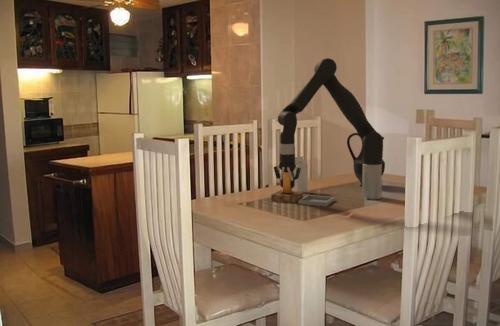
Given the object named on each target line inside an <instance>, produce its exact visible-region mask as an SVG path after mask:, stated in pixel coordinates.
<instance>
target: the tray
mask: <svg viewBox="0 0 500 326" xmlns="http://www.w3.org/2000/svg"><path fill="white" fill-rule="evenodd" d="M335 200H336V197H335V196H327V195H316V194H315V195H314V194H307V195H305V196H303V198H302V199H300V200H298V202H297V203H298V205H306V206H307V205H308V206H318V207H327V206H329V205H330V204H332V203H334V202H335Z"/></svg>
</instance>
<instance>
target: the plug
mask: <svg viewBox="0 0 500 326" xmlns="http://www.w3.org/2000/svg"><path fill="white" fill-rule="evenodd" d="M282 190H283V193H291V192H292V188H291V178H290V176H289V173H288V172H283V188H282Z"/></svg>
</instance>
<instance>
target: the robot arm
mask: <svg viewBox="0 0 500 326" xmlns="http://www.w3.org/2000/svg"><path fill="white" fill-rule="evenodd" d="M337 67H338V66H337V63H336V61H335V60H334V59H332V58H328V57H327V58H326V57H325V58H323V59H321V60H320V61H319V62H318V63H317V64H315V66H314V69H313V70H314V74H313V75H312V76H311V77H310V79H309V80H308V81H307V82H306V84H305V85H303V87H302V88H301V89H300V90H299V91H298V92H297V94H295V96H294V98H292V100H291V101H290V102H289V103H288V104H287V105H286V106H285V107H284V108H283V109H282V110H281V111H280V113H279V114H278V116H277V123H279V125H280V126H283V129H282V131H281V132H280V133H279V134H280V135H279V151H278V152H279V164H278V165H275V166H274V167H273V170H274V175H275V177H276V179H278V180H279V185H280V187H281V188H282V189H283V172H288V173H289V176H290V178H291V188H293V187H294V186H295V180H296V179H298V178H299V174H300V171H301V167H296V165H295V157H296V147H295V146H296V144H295V142H296V140H295V139H296V138H295V134H296V132H297V131H296V130H297V127H298V126H297V125H298V117H297V115H298V114H299V113H302V112H303V111H304V110H305V108H306V107H307V106H308V104H309V103H310V102H311V100H312V99H313V98H314V97H315V95H316V94H317V92H318V91H319V90H320V88H321V87H322V86H324V88H325V89H326V90H327V91H328V93H329V95H330V97H331V98H332V100H333V101H334V102H335V104H336V106H337V107H338V109H339V110H340V111H341V113H342V115H343V116H344V117H345V118H346V120H347V121H348V123H350V125H352V126H353V128H354V129H355V131H356V133H358V134H359V136H360V137H359V136H358V137H359V138H360V140H361V143H362V142H363V144H364V154H363V174H362V187H361V189H362V190H361V197H362V198H365V199H367V200H380V199H382V198H383V178H382V177H381V174H382V159H383V156H384V153H383V152H384V139H383V138H382V137H383V136H382V135H381V134H380V133H379V132H378V131H377V130H376V129H375V128H374V127H373V126H372V125H371V123H370V122H369V120H368V118H367V117H366V115H365V111H364V110H363V108H362V106H361V104H360V103H359V101H358V100H357V98H356V97H355V95H354V94H353V93H352V92H351V91H350V90H349V89H347V88H346V87H345V86H344V85H343V84H342V83H341V82H340V81H339V79H338V78H337V76H336V75H335V73H336V72H337ZM294 169H296V174H295V177H294V172H293V171H294ZM280 170H281V171H280Z"/></svg>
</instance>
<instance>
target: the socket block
mask: <svg viewBox="0 0 500 326" xmlns="http://www.w3.org/2000/svg"><path fill="white" fill-rule="evenodd" d="M270 196H271V199H270V200H271V203H273V202H276V203H277V202H279V203H289V204H295V203H298V200H300V199H302V198H303V197H304V192H299V191H292V192H291V193H283V189H281V190H278V191H276V192H274V193H272V194H271V195H270Z"/></svg>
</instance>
